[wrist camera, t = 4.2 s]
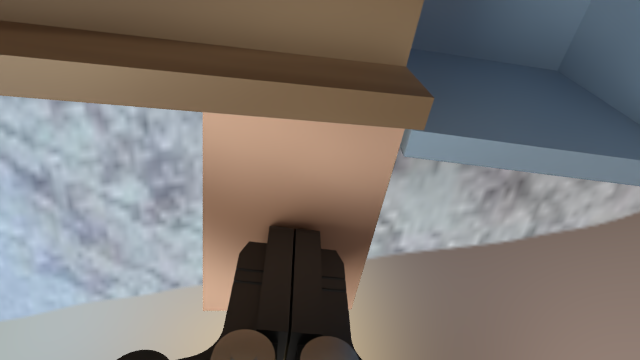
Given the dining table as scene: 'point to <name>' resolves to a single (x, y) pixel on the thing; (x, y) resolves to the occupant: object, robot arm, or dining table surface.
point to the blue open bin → (531, 86)
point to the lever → (245, 103)
